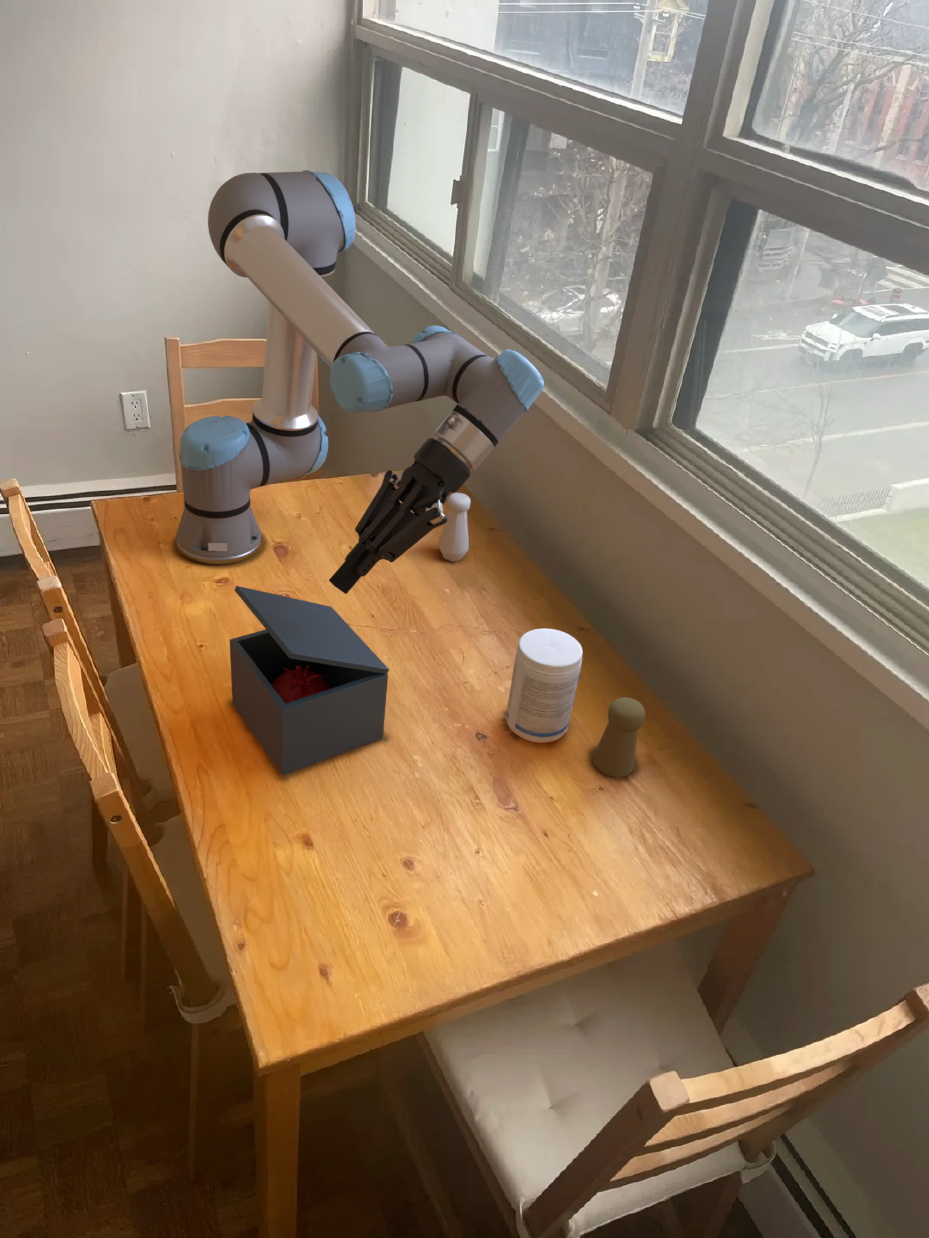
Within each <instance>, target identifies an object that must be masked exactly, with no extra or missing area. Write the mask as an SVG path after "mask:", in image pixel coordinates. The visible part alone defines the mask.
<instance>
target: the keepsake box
mask: <svg viewBox="0 0 929 1238" xmlns="http://www.w3.org/2000/svg"><path fill="white" fill-rule="evenodd" d="M229 658H230V679H231V681H230V682H231V698H232V699H231V701H232V705H233V707H234V708H235V710H236V711H237V713H238V714H239V715H240V717H241V718H242V719H243V721H244V722H245V724H246V725H247V727H248V728H249V730H250V731H251V732H252V734H253V735H254V737H255V738H256V740H257V742H258V743H259V744H260V745H261V747H262V748H263V750H264V751H265V753H266V754H267V755H268V757H269V758H270V760H271V761H272V763H273V764H274V766H275V767H276V768H277V770H278V772H279V773H280V775H282V776H283V777H284V776H286V775H289V774H292V773H294V772H297V771H300V770H302V769H305V768H309V767H310V766H313V765H315V764H318V763H320V762H324V761H326V760H329V759H331V758H334V757H337V756H340V755H342V754H344V753H347V752H351V751H353V750H356V749H358V748H361V747H364V746H366V745H369V744H372V743H374V742H377V741H379V740H383V738H384V731H385V729H384V728H385V718H386V717H385V716H386V705H387V692H388V682H389V681H388V680H389V678H388V677H389V674H388V673H387V674H384V673H377V672H371V671H365V670H359V669H353V668H346V667H340V666H334V665H328V664H322V663H315V662H309V661H303V660H297V659H290V658H289V657H288V656H287V655H286V653H285V652H284V651H283V650H282V648H281V647H280V646H279V645H278V644H277V642H276V641H275V640H274V639H273V637H272V636H271V635H270V634H269V632H268V631H267V630H266V629H265V628H264V629H262V630H259V631H255V632H252V633H248V634H244V635H240V636H237V637H234V638H233V637H232V638H230V639H229ZM298 665H299V666H301V667H302V668H303V671H304V670H305V668H306V666H310V665H311V667H309V668H308V670H307V672H315V673H317V674H321V675H328V676H322V677H323V678H324V679H325V680H326V681H327V682H328V684H329V686H330V689H329V690H326V691H323V692H320V693H317V694H314V695H310V696H307V697H304V698H301V699H298V700H295V701H292V702H289V703H286V704H285V703H284V701H283V700H282V699H281V697H280V696H279V695H278V693H277V692H276V691H275V689H274V688H273V687H272V685H271V684H272V683H273V682H274V681H275V680H276V679H277V678H278V677H279V676H280V675H282V674H283V673H285V672H287V671H285V670H284V669H283V667H284V668H285V669H289V670H296V666H298Z"/></svg>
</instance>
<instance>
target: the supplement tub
mask: <svg viewBox="0 0 929 1238" xmlns="http://www.w3.org/2000/svg"><path fill="white" fill-rule="evenodd" d="M583 653H584V652H583V647H582V644H581V643H580V642H579V641H578V640H577V639H576V637H574V636H572V635H571V634H569V633H567V632H565V631H561V630H559V629H555V628H536V629H532V630H529V631H527V632H525V633H524V634H522V636H521V637H520V638H519V641H518V645H517V647H516V652H515V658H514V664H513V669H512V677H511V683H510V689H509V695H508V701H507V707H506V714H505V715H506V716H505V718H506V719H505V720H506V723H507V725H508V727H509V729H510V730H511V731H512V732H513V733H514V734H515V735H517V736H518V737H520V738H522V739H523V740H525V741H529V742H532V743H539V744H545V743H550V742H554V741H557V740H559V739H561V738H562V737H563V736H564V735H565V734H566V733H567V731H568V730H569V729H568V728H569V725H570V719H571V715H572V712H573V711H572V710H573V706H574V702H575V698H576V693H577V689H578V684H579V680H580V675H581V670H582V662H583Z"/></svg>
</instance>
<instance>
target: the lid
mask: <svg viewBox="0 0 929 1238" xmlns="http://www.w3.org/2000/svg"><path fill="white" fill-rule="evenodd" d="M234 592H235V593H236V594H237V595H238V597H239V598H240V599H241V601H242V602H243V603H244V604H245V605H246V606H247V608H248V609H249V610H250V612H251V613H252V614H253V615H254V617H255V618H256V619H257V620H258V621H259V623H260V624H261V626H262V627H263V628H264V630H265V629H266V630H267V631H268V632H269V634H270V635H271V636H272V637H273V639H274V640H275V641H276V642H277V644H278V645H279V646H280V647H281V648H282V650H283V651H284V652H285V653H286V655H287V656H288V657H289V658H290V659H297V660H303V661H309V662H315V663H322V664H328V665H334V666H340V667H346V668H353V669H359V670H365V671H371V672H377V673H384V674H388V673H389V671H390V668H389V667H388V666H387V665H386V664H385V663H384V662H383V661H382V659H380V657H379V656H378V655H377V654H376V653H375V652H374V651H373V650H372V649H371V648H370V647H369V646H368V644H366V642H364V640H363V639H362V638H361V637H360V636H359V635H358V634H357V633H356V632H355V631H354V629H353V628H352V627H351V626H350V625H349V624H348V623H347V622H346V621H345V620H344V619H343V617H341V616H340V614H339V613H338V612H337V611H336V610H335V609H334V608H333V607H332V606H331V605H326V604H321V603H317V602H313V601H308V600H303V599H298V598H294V597H289V596H285V595H280V594H275V593H272V592H267V591H263V590H257V589H254V588H250V587H244V586H241V585H236V586H235V588H234Z"/></svg>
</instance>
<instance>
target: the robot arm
mask: <svg viewBox="0 0 929 1238" xmlns="http://www.w3.org/2000/svg"><path fill="white" fill-rule="evenodd" d="M207 215H208V216H207V227H208V228H207V229H208V234H209V236H210V241H211V243H212V246H213V248H214V250H215V252H216V253H217V255H218V257H219V258H220V259H221V261H222V262H223V263H224V264H225V265H226V266H227V268H228V269H229V270H230V271H231V272H232V273H234V274H235V275H236V276H238V277H241V278H247V279H248V280H249V281H250V282H251V283H252V284H253V286H254V287H256V289H257V290H258V291H259V292H260V293H261V295H263V296H264V297H265V298H266V300H267V301H268V307H267V308H268V310H267V322H266V325H267V326H266V339H265V354H264V366H263V368H264V369H263V383H262V397H261V398H259V399H258V400H256V401H255V402H254V403H253V406H252V416H251V420H250V421H249V422H245V421H244V420H242V418H241V419H240V418H239V417H236V416H231V415H224V416H220V415H211V416H207V417H204V418H203V417H202V418H200V419H198V420H196V421H194V422H192V423H190V424H189V425H187V427H185V428H184V429H183V432H182V434H181V436H180V440H179V455H178V456H179V462H180V469H181V480H182V491H183V503H184V504H183V511H182V514H181V518H180V521H179V524H178V527H177V531H176V537H175V539H176V548H177V550H178V551H179V552H178V553H180V554H181V555H182V556H184V557H185V558H187V559H189V560H190V561H192V562H193V561H194V562H196V563H200V564H205V565H215V566H217V565H218V566H221V565H222V566H223V565H230V564H236V563H240V562H243V561H246V560H248V559H249V558H252V557H253V556H255V555H256V554H257V553H258V552H259V551H260V549H261V548H262V533H261V529H260V526H259V524H258V521H257V520H256V516H255V514H254V511H253V509H252V506H251V490H255V489H258V488H261V487H266V486H269V485H275V484H277V483H281V482H285V481H289V480H294V479H300V478H303V477H305V476H307V475H309V474H313V473H315V472H317V471H318V470H319V469H320V468H322V466H323V465H324V463H325V461H326V459H327V456H328V451H329V436H328V435H326V433H327V428H326V425H325V423H324V421H323V420H322V418H321V417H320V416H319V413H318V411H317V408H315V406H313V405H312V398H313V397H312V396H313V388H314V379H315V370H316V361H317V355H318V356H319V357H320V358H321V359H322V361H323V362H324V363H325V364H326V365H327V366H328V367H329V368H330V370H329V386H330V387H329V388H330V390H331V393H332V394H334V397H335V398H334V399H335V402H336V403H337V406H339V407H340V408H341V409H342V410H343V411H345V412H346V413H350V414H353V415H357V414H364V413H375V412H380V411H383V410H386V409H391V408H394V407H398V406H399V407H400V406H402V405H407V404H410V403H416V402H422V401H425V400H430V399H435V398H438V397H439V398H440V397H447V398H448V399H451V400H452V401H453V402H455V403H456V405H455V406H454V407H453V409H452V410H451V411H450V413H449V414H448V415H447V416H446V417H445V418H444V420H443V421H441V423H440V424H439V425H438V427H436V428H435V430H434V431H433V433H434V434H433V435H434V436H435V437H430V438H429V437H428V438H426V440H425V441H424V442H423V443H422V445H420V446H419V448H418V449H417V451H415V453H414V454H413V460H414V462H413V463H412V464H411V465H410V466H408V467H406V468H405V469H404V470H403V471H402V472H398V473H394V472H393V471H392V470H390V469H388V470H387V471H386V472H384V475H383V480H382V482H381V485H380V487H379V488H378V490H377V492H376V493H375V494H374V497H373V498H372V500H371V501H370V504H369V505H368V507H367V508H366V510H365V511H364V513H363V515H362V517H361V518H360V520H359V521H358V522H357V525H356V526H355V528H354V531H355V533H357V536H358V542H357V543H356V544H355V545H354V546H353V548H351V550H350V551H349V553H348V554H347V555H346V556H345V558H344V562H343V563H342V564H341V565H340V566H339V568H338V569H337V570H336V571H335V572H334V573H333V575H332V576H331V577H330V578H329V579H328V581H329V582H330V584H332V586H333V587H335V588H337V590H339V591H341V592H342V593H343V594H344V595H347V594H348V593H349V592H350V590H351V589H352V588H353V587H354V586H355V585H356V583H358V582H359V580H360V579H361V578H362V577H363V578H364V577H366V576H367V575H368V574H369V573H370V571H372V569H373V568H374V567H375V566H376V564H377V563H378V562H379V561H381V560H385V561H388V562H389V563H394V562H395V561H396V560H398V559H399V558H400V557H401V556H402V555H403V554H405V553H406V552H408V551H409V550H410V549H411V548H412V547H413V546H414V545H416V544H417V543H418V542H419V541H420V540H422V539H423V538H424V537H425V536H427V535H428V534H430V532H432V531H433V530H435V529H436V528H438V527H441V526H443V525H445V523H446V522H447V520H448V518H447V516H446V514H444V507H443V505H445V503H446V501H447V500H448V498H449V496H450V494H453V493H458V491H459V490H460V489H461V487H462V486H463V485H465V483H466V482H467V481H468V480H469V479H470V477H471V474H472V472H471V470H477V469H478V468H479V467H480V466H481V464H482V463H483V462H484V461H485V460H486V459H487V457H488V456H489V455H490V454H491V453H492V451H493V450H494V449H495V448H496V447H497V445H498V444H499V442H500V441H501V440H502V439H503V438H504V437H505V436H506V434H507V433H509V431H510V430H511V429H512V428H513V427H514V425H516V423H517V422H519V420H520V419H522V417H523V416H524V415H525V414H526V413H528V412H529V410H530V407H531V406H532V405H533V403H534V402H535V401H536V399H537V398H538V397H539V396H540V394H541V393H542V392H543V390H544V387H545V381H544V378H543V376H542V375H541V373H540V371H539V370H538V369H537V368H536V366H534V365H533V363H531V362H530V361H529V359H528V358H526V357H525V356H524V355H522V354H521V353H520V352H517V351H515V350H512V349H511V348H509V349H508V348H507V349H503V351H502V352H500V354H499V355H496V356H495V358H493V357H491V356H488V355H487V353H484V352H483V351H482V350H480V349H478V348H477V347H475V346H474V345H473V344H472V343H470V342H469V341H467V340H466V339H464V338H463V337H462V336H460V335H459V334H458V333H455V332H453V331H451V330H449V329H446V328H445V327H444V326H441V325H429V326H427V327H424V330H422V331H420V332H418V333H417V334H415V335H414V337H413V338H412V340H411V342H410V343H408V344H400V345H395V346H389V345H387V344H386V343H385V342H384V341H383V340H382V339H381V338H380V337H379V336H378V335H377V334H376V333H375V332H374V331H373V330H372V329H371V328H370V327H369V326H368V325H367V324H366V323H365V322H364V321H363V319H362V318H361V317H360V316H359V315H358V314H357V313H356V312H355V311H354V310H353V309H352V308H351V307H350V306H349V305H348V303H346V302H345V300H344V299H342V298H341V297H340V295H339V294H338V293H337V292H336V291H335V290H334V289H333V288H332V287H331V286H330V285H329V284H328V283H327V282H326V281H325V280H326V278H327V277H329V276H331V275H332V274H334V273H335V270H336V265H337V258H338V257H337V256H338V253H343V252H345V251H346V250H348V249H349V248H350V247H351V246H352V245H353V243H354V240H355V237H356V236H355V235H356V228H357V226H356V224H357V223H356V213H355V208H354V205H353V202H352V200H351V199H350V196H349V192H348V190H347V189H346V187H345V186H344V184H343V183H342V182H341V181H340V180H339V179H338V178H337V177H336V176H334V175H333V174H331V173H328V172H324V171H311V170H308V169H306V170H302V171H283V172H282V171H279V172H277V171H275V172H244V173H239V174H237V175H234V176H232V177H230V178H228V180H226V181H225V182H224V183H222V184H221V186H219V188H218V189H217V191H215V194H214V196H213V198H212V199H211V202H210V205H209V208H208V213H207Z"/></svg>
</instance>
